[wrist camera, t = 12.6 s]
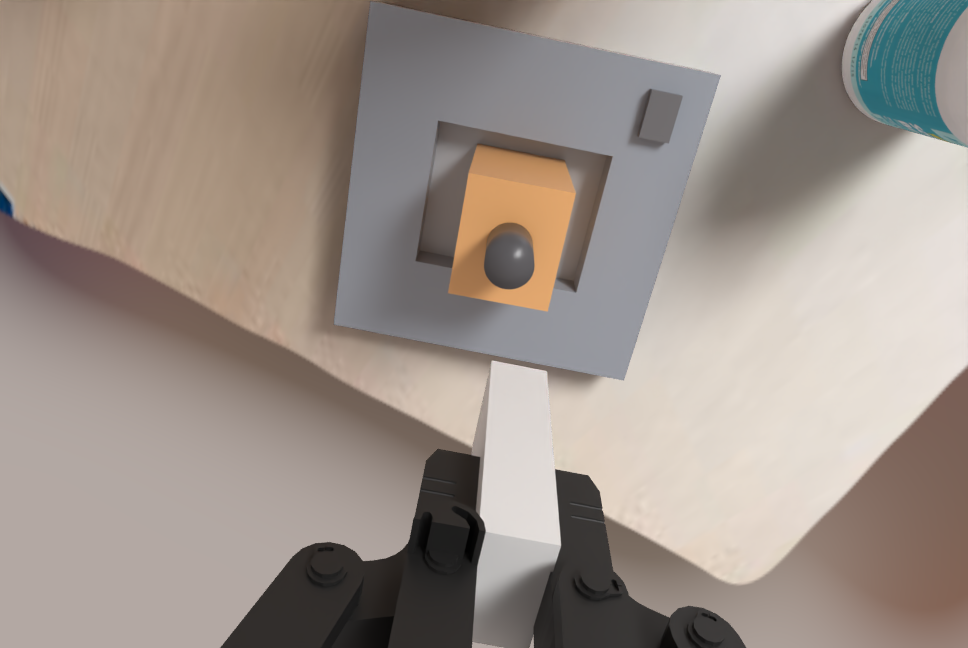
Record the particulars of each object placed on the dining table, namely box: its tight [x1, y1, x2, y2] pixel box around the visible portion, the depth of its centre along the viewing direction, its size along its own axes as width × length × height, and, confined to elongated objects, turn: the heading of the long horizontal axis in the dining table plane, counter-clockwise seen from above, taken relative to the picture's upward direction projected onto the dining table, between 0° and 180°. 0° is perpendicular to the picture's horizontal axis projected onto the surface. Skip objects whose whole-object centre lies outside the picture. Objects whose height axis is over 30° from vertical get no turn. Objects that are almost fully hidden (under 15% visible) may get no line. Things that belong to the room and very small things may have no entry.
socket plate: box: [334, 1, 721, 380], centre depth 39 cm, size 18×18×3 cm
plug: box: [448, 143, 576, 312], centre depth 35 cm, size 6×5×11 cm
